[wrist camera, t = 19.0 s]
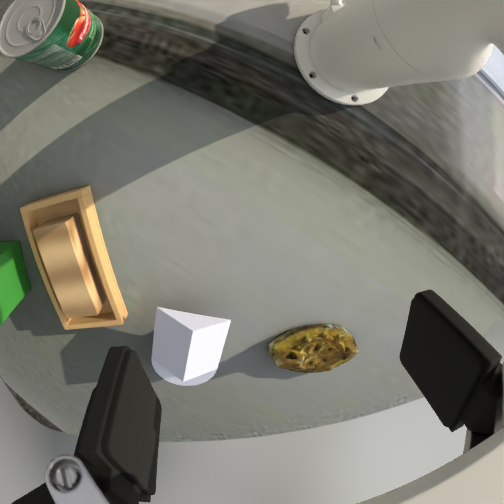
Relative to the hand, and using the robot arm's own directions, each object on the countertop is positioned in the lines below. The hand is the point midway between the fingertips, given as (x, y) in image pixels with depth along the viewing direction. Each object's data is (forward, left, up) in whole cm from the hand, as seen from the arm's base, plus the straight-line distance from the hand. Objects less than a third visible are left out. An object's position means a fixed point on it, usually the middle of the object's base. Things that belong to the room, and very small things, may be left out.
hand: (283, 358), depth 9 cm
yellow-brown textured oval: (+25, +9, -26) cm, 38 cm away
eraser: (+5, -21, -26) cm, 34 cm away
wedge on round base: (+19, -9, -26) cm, 34 cm away
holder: (+5, -21, -26) cm, 34 cm away
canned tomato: (-22, -16, -26) cm, 38 cm away
